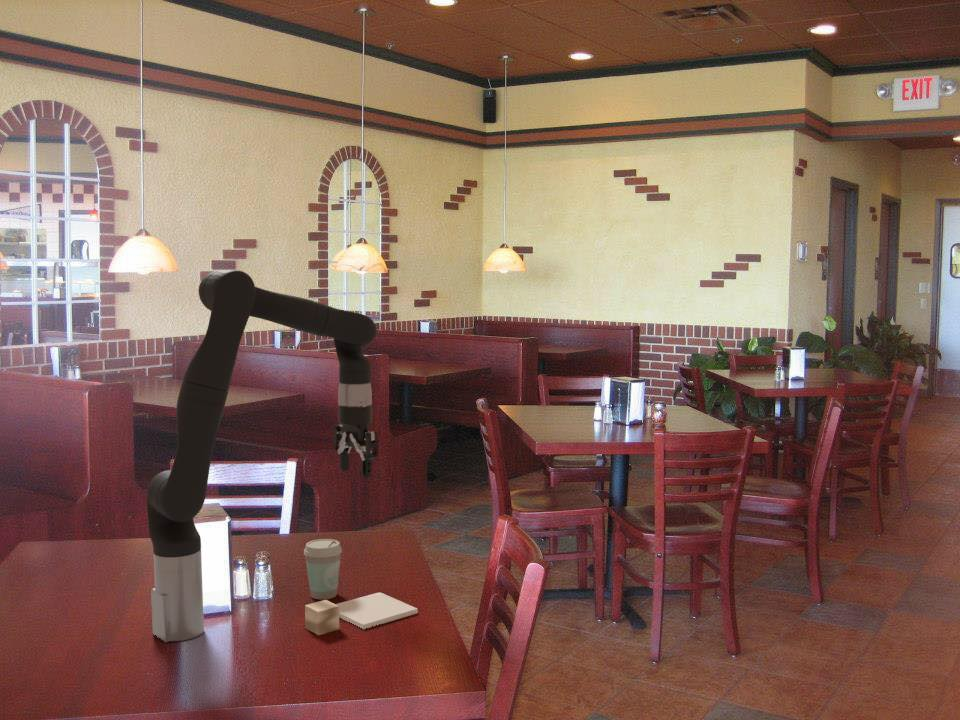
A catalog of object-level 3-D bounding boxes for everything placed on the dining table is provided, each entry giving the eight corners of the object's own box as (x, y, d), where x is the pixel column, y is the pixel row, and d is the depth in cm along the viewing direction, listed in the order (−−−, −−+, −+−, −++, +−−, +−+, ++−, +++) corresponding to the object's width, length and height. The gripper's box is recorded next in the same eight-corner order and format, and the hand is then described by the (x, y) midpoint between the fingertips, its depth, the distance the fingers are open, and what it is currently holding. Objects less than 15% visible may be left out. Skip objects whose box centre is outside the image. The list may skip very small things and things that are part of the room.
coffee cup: (323, 604, 217) (322, 551, 215) (296, 596, 222) (295, 544, 220) (350, 594, 223) (349, 542, 222) (324, 586, 228) (323, 536, 227)
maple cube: (318, 635, 199) (317, 611, 199) (305, 628, 203) (304, 605, 202) (339, 629, 202) (339, 606, 202) (326, 622, 206) (325, 599, 206)
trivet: (363, 629, 202) (363, 624, 202) (326, 611, 212) (326, 606, 212) (417, 613, 211) (417, 608, 211) (379, 596, 222) (379, 592, 222)
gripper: (323, 400, 225) (324, 470, 226) (359, 407, 214) (359, 481, 216) (351, 398, 230) (351, 466, 231) (387, 404, 219) (387, 476, 221)
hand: (355, 473), depth 223 cm, fingers open, 8 cm apart
